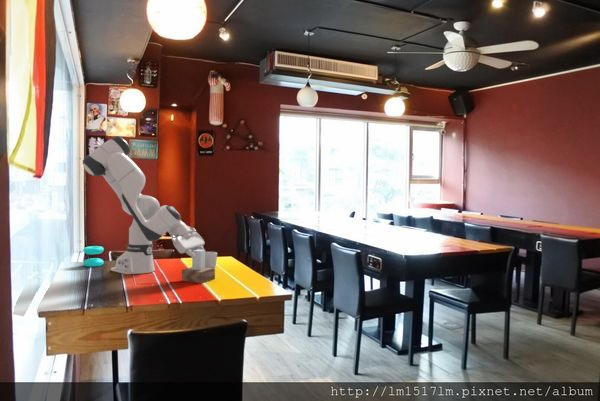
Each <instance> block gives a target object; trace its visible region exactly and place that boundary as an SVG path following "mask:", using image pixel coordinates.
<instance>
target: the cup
mask: <svg viewBox="0 0 600 401" xmlns="http://www.w3.org/2000/svg"><path fill="white" fill-rule="evenodd" d="M205 252H206V254H205V267H209V268H216V266H217V260H218V252H216V251H205Z"/></svg>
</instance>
